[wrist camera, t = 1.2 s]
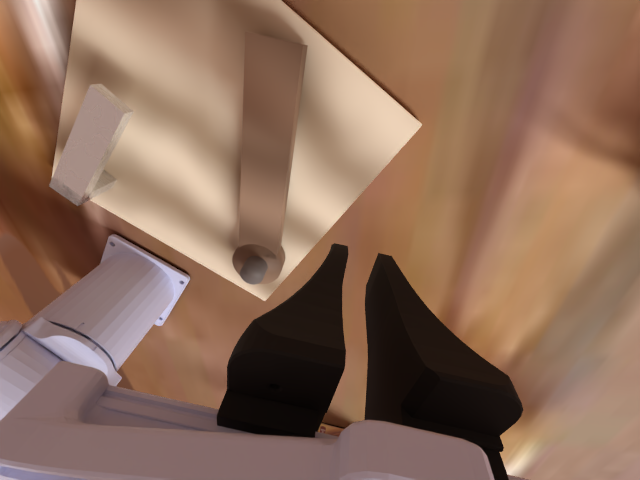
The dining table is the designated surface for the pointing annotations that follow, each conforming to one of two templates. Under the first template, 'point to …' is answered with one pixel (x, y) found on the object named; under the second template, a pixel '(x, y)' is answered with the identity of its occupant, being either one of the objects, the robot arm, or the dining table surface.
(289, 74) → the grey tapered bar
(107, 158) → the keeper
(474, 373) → the robot arm
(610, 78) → the dining table surface
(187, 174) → the base board
